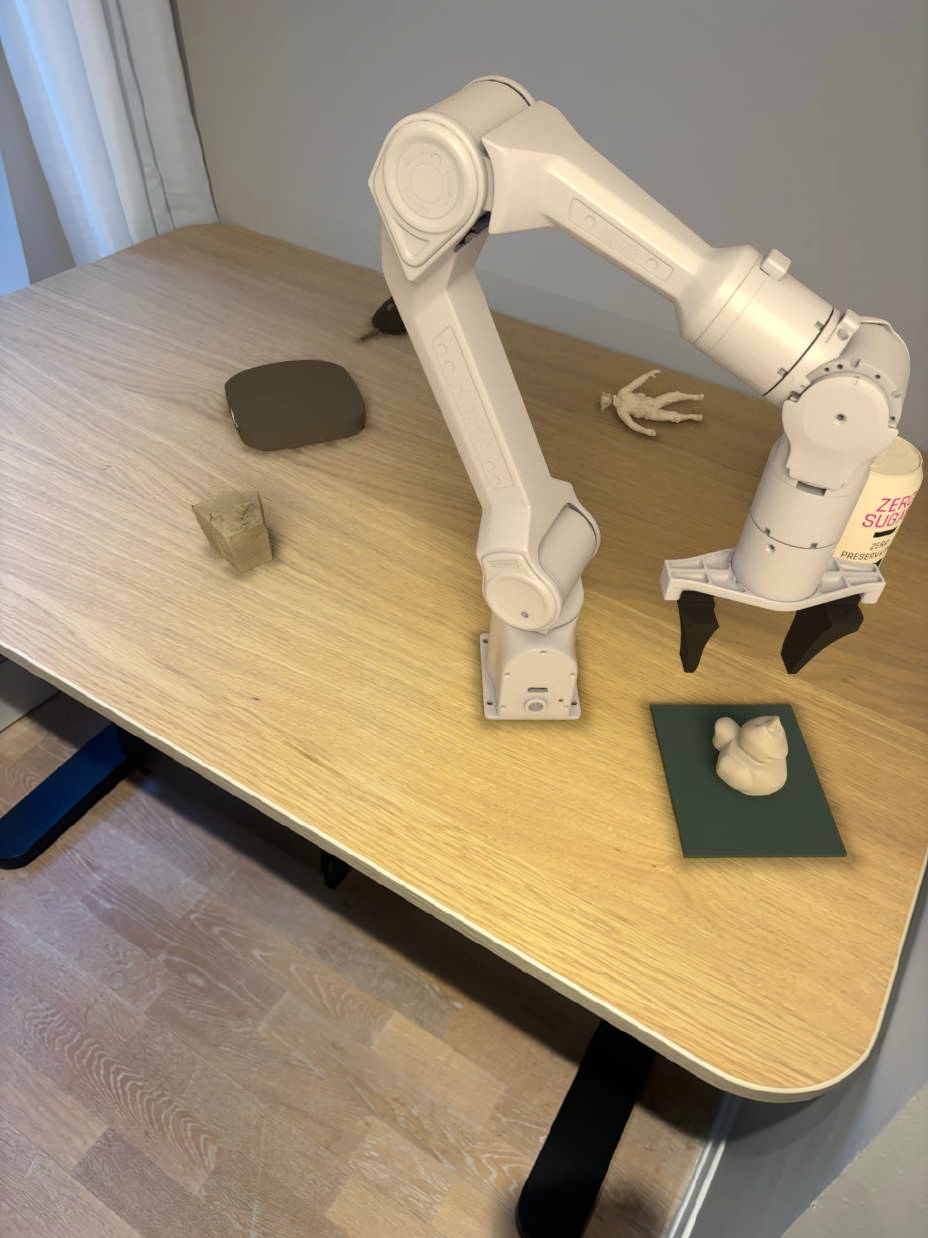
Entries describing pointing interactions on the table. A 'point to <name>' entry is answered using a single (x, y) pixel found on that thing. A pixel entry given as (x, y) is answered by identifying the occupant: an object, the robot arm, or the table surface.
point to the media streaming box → (294, 404)
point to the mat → (727, 816)
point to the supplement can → (882, 504)
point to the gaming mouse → (387, 320)
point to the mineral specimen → (236, 528)
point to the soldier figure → (647, 405)
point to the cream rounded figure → (752, 754)
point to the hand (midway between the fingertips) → (737, 663)
